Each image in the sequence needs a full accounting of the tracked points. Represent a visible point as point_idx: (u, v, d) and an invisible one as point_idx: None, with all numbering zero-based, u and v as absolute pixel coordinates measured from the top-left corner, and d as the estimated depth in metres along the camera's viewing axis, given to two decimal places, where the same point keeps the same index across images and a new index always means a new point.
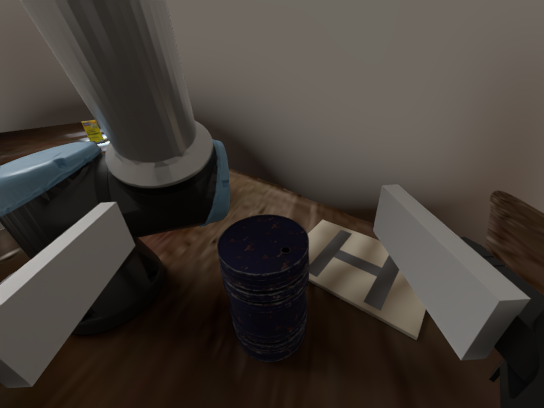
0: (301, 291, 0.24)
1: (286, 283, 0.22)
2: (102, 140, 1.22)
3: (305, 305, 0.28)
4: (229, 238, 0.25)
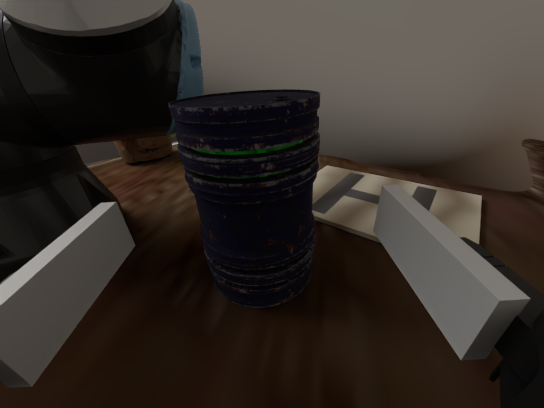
0: (308, 176, 0.15)
1: (283, 139, 0.13)
2: None
3: (312, 222, 0.19)
4: (192, 101, 0.16)
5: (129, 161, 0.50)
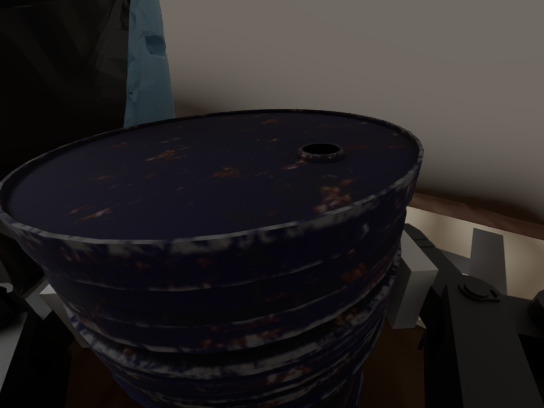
0: (378, 327, 0.06)
1: (340, 303, 0.04)
2: None
3: None
4: (116, 142, 0.07)
5: None
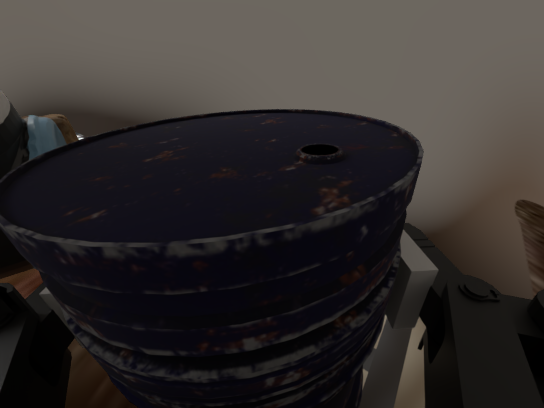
0: (377, 329, 0.06)
1: (339, 305, 0.04)
2: None
3: None
4: (114, 143, 0.07)
5: None
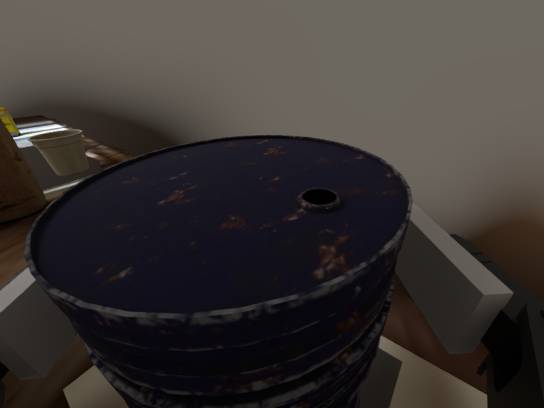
0: (372, 355, 0.07)
1: (336, 348, 0.04)
2: (15, 133, 0.95)
3: None
4: (126, 177, 0.08)
5: None
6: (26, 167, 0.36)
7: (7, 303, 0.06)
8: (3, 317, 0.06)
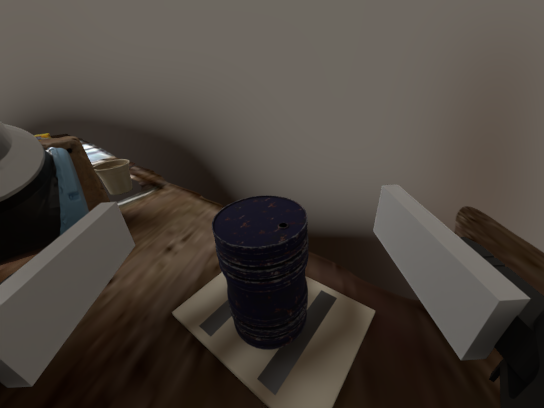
0: (300, 269, 0.23)
1: (284, 258, 0.21)
2: None
3: (305, 288, 0.27)
4: (225, 217, 0.25)
5: None
6: None
7: None
8: None
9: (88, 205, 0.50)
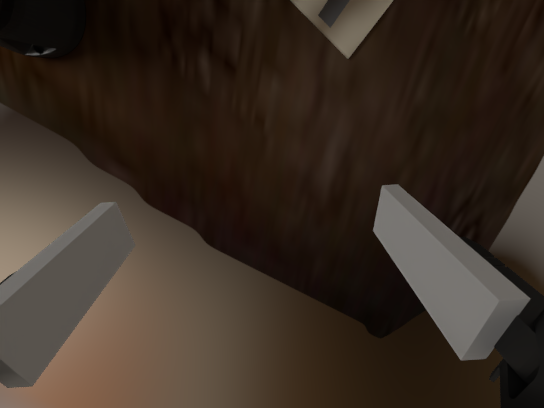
0: None
1: None
2: None
3: None
4: None
5: None
6: None
7: None
8: None
9: None
